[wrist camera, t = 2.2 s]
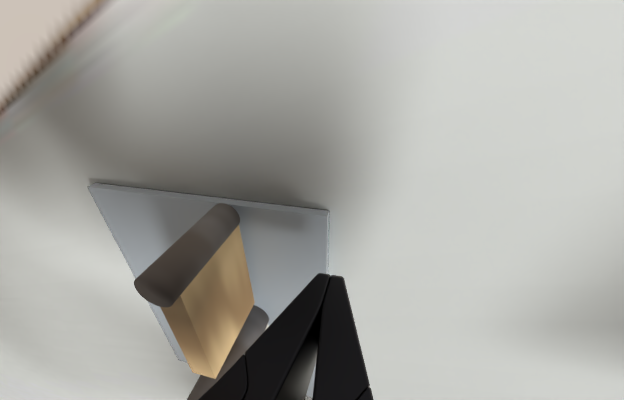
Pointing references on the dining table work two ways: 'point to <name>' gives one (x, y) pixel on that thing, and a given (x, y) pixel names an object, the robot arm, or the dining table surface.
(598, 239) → the dining table surface
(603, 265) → the dining table surface
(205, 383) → the fixed fence
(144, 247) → the card
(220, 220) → the fence panel
